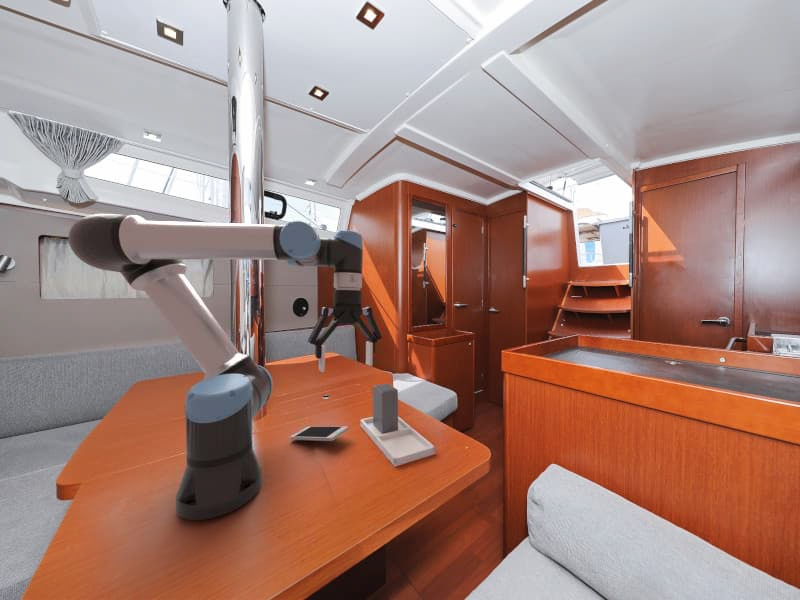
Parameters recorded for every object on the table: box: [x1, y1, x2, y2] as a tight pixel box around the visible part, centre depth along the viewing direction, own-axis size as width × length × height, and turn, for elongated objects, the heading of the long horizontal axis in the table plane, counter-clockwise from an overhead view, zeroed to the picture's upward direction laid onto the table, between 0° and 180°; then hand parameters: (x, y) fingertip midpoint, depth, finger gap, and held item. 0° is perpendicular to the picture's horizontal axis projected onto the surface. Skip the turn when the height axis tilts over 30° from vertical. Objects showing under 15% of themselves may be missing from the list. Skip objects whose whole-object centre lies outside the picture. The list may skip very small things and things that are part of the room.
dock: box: [359, 383, 436, 468], centre depth 80 cm, size 11×24×13 cm, turn 27°
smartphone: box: [289, 425, 349, 442], centre depth 79 cm, size 7×15×1 cm, turn 63°
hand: (346, 367), depth 77 cm, fingers open, 13 cm apart
